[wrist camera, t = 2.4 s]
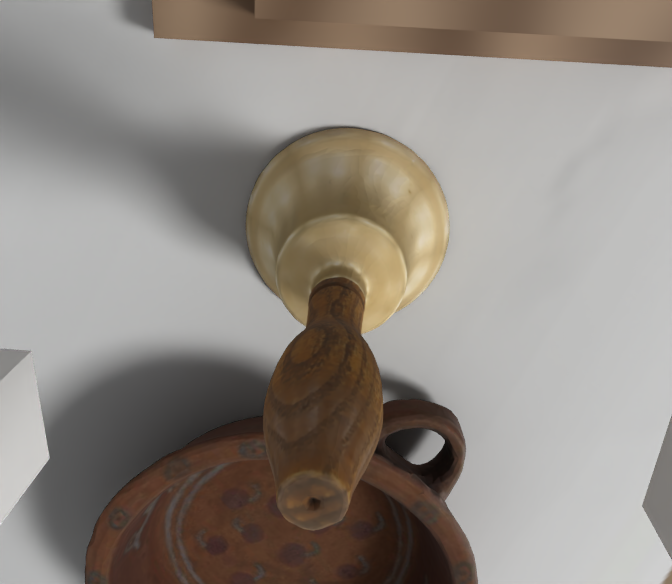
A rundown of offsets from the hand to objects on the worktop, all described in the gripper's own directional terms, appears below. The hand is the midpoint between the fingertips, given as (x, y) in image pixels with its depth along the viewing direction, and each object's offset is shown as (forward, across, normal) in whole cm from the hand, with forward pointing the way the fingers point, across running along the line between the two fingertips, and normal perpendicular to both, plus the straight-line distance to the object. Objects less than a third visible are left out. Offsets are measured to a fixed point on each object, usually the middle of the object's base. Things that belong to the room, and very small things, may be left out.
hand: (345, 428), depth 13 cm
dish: (+14, -2, -16) cm, 21 cm away
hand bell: (+14, 0, 0) cm, 14 cm away
